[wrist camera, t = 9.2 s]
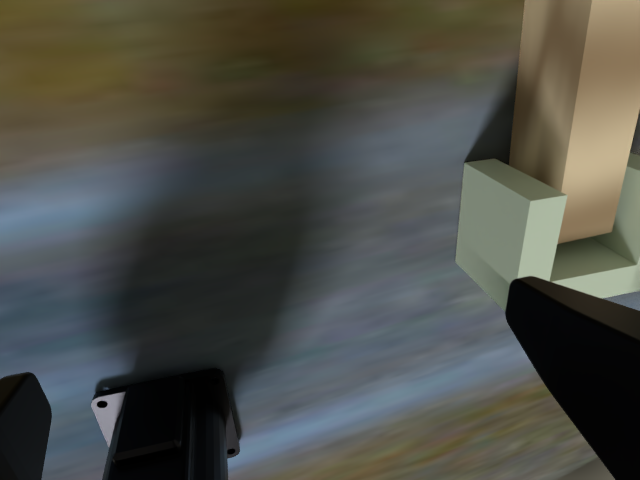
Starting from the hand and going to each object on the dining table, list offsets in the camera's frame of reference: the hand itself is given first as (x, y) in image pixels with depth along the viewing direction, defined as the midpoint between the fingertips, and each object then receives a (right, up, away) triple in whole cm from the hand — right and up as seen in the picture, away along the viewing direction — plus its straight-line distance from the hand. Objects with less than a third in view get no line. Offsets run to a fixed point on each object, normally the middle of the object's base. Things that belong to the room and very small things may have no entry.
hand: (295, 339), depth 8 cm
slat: (+11, +10, +12) cm, 19 cm away
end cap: (+11, +4, +14) cm, 19 cm away
